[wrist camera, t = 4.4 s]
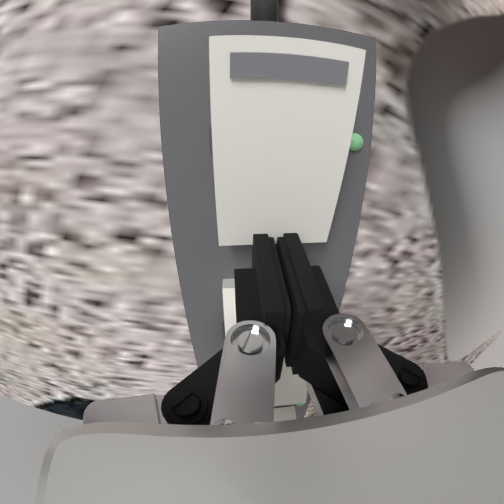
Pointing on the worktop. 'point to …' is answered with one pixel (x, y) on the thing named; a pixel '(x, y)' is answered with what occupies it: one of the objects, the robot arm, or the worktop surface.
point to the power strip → (202, 172)
